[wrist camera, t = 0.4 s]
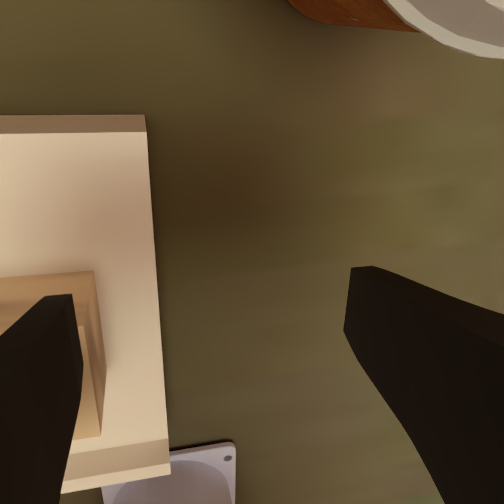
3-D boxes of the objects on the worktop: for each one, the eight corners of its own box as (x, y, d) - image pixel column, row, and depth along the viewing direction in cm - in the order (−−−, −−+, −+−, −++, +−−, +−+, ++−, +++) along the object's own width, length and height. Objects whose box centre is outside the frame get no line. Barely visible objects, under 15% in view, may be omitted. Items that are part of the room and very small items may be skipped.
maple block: (106, 367, 20) (100, 435, 17) (-14, 382, 19) (-48, 458, 16) (93, 270, 18) (83, 325, 15) (-43, 281, 17) (-89, 342, 14)
